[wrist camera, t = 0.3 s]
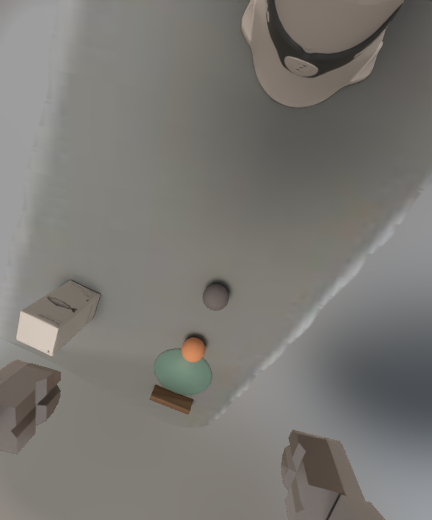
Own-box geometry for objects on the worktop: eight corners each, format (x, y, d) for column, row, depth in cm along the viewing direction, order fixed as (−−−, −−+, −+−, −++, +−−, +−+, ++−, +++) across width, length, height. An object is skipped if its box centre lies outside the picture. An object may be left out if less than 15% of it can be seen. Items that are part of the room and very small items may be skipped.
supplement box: (101, 293, 53) (59, 329, 42) (93, 318, 56) (52, 358, 44) (70, 278, 53) (19, 310, 41) (64, 304, 56) (14, 340, 44)
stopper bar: (155, 385, 61) (150, 395, 58) (192, 399, 61) (189, 410, 58) (154, 389, 62) (149, 399, 59) (190, 403, 62) (188, 414, 59)
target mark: (162, 340, 56) (162, 340, 55) (220, 362, 56) (220, 363, 56) (148, 381, 61) (148, 382, 61) (200, 401, 61) (200, 402, 61)
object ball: (188, 329, 54) (182, 344, 49) (209, 337, 54) (206, 354, 49) (182, 345, 55) (175, 362, 51) (202, 354, 55) (198, 371, 51)
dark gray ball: (210, 276, 48) (205, 287, 44) (233, 285, 48) (231, 298, 44) (201, 296, 50) (196, 309, 45) (224, 305, 50) (221, 319, 46)
